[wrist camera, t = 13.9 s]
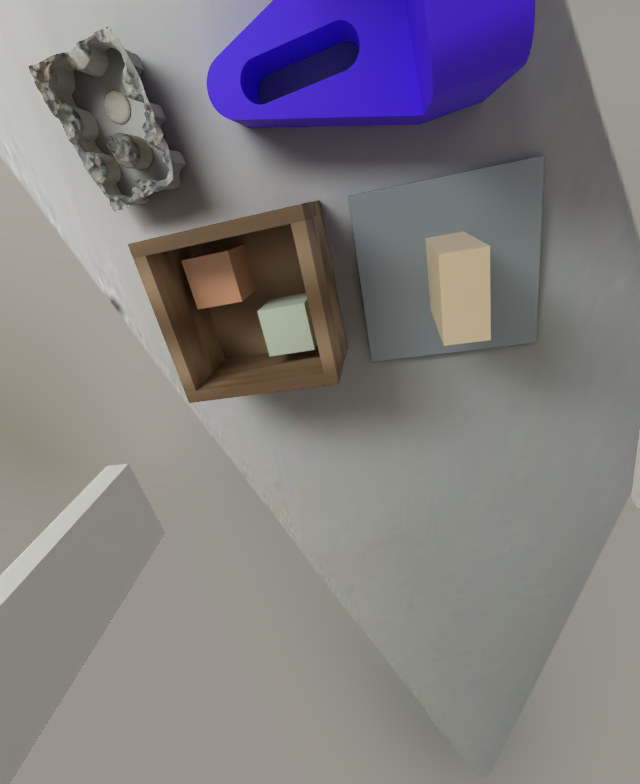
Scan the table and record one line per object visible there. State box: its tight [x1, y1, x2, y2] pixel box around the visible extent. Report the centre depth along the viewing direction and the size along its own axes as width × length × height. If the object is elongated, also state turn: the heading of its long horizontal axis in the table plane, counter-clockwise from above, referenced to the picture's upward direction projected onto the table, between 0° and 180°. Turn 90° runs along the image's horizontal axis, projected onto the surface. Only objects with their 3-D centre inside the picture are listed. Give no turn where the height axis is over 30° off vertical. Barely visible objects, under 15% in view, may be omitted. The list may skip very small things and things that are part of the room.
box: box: [128, 201, 347, 403], centre depth 34 cm, size 13×13×8 cm
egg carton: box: [29, 27, 186, 211], centre depth 31 cm, size 11×8×4 cm
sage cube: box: [257, 293, 317, 356], centre depth 35 cm, size 4×4×4 cm
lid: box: [348, 156, 544, 362], centre depth 30 cm, size 14×14×10 cm
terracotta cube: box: [181, 244, 256, 310], centre depth 34 cm, size 4×4×4 cm
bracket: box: [207, 0, 535, 128], centre depth 24 cm, size 18×11×12 cm, turn 106°
